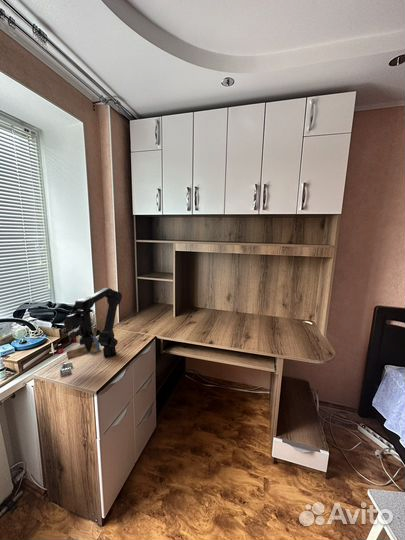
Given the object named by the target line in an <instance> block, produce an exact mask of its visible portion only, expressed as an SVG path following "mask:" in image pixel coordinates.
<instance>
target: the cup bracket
mask: <svg viewBox="0 0 405 540" xmlns="http://www.w3.org/2000/svg"><path fill="white" fill-rule="evenodd" d="M69 367H70V368H69ZM73 367H74V366H73V361H67V362H65V363H62V364H61V366H60V368H59V373H60V376H61V375H63V376H65V375H70V374H72V368H73ZM65 368H66V369H65ZM69 373H70V374H69Z"/></svg>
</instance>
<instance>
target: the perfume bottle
mask: <svg viewBox="0 0 405 540" xmlns="http://www.w3.org/2000/svg"><path fill="white" fill-rule="evenodd" d="M93 338H94V341H96V344H97V348H98V351H100V350H101V345H100V343H99V342H98V338H97V337H96V336H95V334H94V335H93ZM94 353H95V352H93V353H89V354H90V355H92V354H94Z"/></svg>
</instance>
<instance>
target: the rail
mask: <svg viewBox="0 0 405 540" xmlns="http://www.w3.org/2000/svg"><path fill="white" fill-rule="evenodd" d="M93 352H94V353H96V352H99V350H98V348H97V344H96V341H94V342H93V343H92V346H91V350H90V352H88V351H87V349H86V347H85V345H84V344H83V345H80V344H78V345H76V346H72V347H68V348H66V355H67V360H68V361H70V360H73V359H76V358H79V357H82V356H86V355H89V354H90V353H92V354H94V353H93Z"/></svg>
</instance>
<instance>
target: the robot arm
mask: <svg viewBox="0 0 405 540" xmlns="http://www.w3.org/2000/svg"><path fill="white" fill-rule="evenodd" d="M104 298H106V302H107V305H108V307H107V311H106V317H105V322H104V328H103V330H101V331H99V332H98V333H99V334H98V338H97V339H98V342H99V345H100V347H102V351H103V356H104V359H107V358H111V357H115V356H117V351H116V346H117V345H118V343H119V340H118V339H116V338H115V332H114V324H115V320H116V314H117V309H118V306H119V305H120V303H121V301H122V298H123V294H122V293H121V292H120V291H116V290H114V289H112V288H110V287H103V288H101V290H98V291H97V292H95V293H93V294H91V295H89V296H85V297H82V298H79V299H76V300H75V301H74V304H73V307H72V310H71V312H70V314H69V315H66V317H65V320H64V321H63V325H64V328H65V329H66V330H68V331H69V332H68V334H67V336H68V339H70V340H71V341H72V340H74V339H76V338H77V337H80V338H79V345H83V344H84V345H85V347H86V349H87V351H88V352H90V350H91V346H92V343H93V342H94V338H93V335H94V336H95V334H94V326H93V325H92V324H93V323H92V317H91V313H93V312H94V310H93V309H92V308H93V306H94V305H95V304H96V303H97V302H99V301H101V300H103V299H104ZM72 329H73V330H72Z"/></svg>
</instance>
